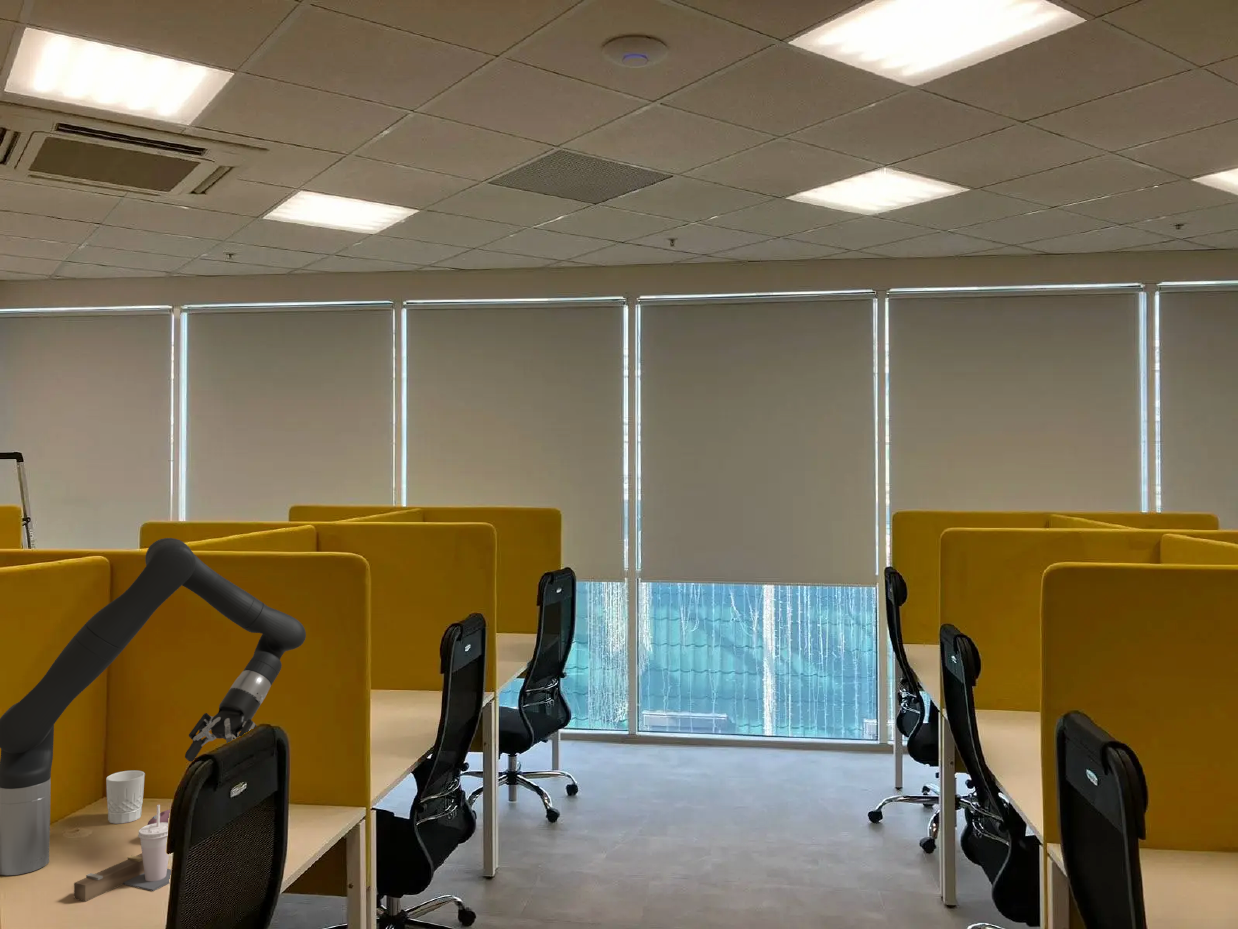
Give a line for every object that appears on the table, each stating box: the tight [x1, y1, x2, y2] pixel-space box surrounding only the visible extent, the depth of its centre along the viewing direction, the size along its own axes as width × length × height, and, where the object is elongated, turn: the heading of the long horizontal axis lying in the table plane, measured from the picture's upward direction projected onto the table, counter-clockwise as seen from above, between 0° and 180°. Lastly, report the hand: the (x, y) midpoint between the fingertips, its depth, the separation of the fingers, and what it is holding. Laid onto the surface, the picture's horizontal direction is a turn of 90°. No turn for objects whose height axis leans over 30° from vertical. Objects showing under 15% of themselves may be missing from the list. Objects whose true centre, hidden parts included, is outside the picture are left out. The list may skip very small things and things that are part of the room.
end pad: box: [122, 868, 172, 892], centre depth 179 cm, size 8×8×1 cm
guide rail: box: [73, 852, 144, 902], centre depth 177 cm, size 3×16×3 cm, turn 158°
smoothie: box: [137, 804, 170, 881], centre depth 179 cm, size 6×6×14 cm
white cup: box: [105, 769, 146, 825], centre depth 211 cm, size 8×8×10 cm
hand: (203, 762), depth 191 cm, fingers open, 8 cm apart
